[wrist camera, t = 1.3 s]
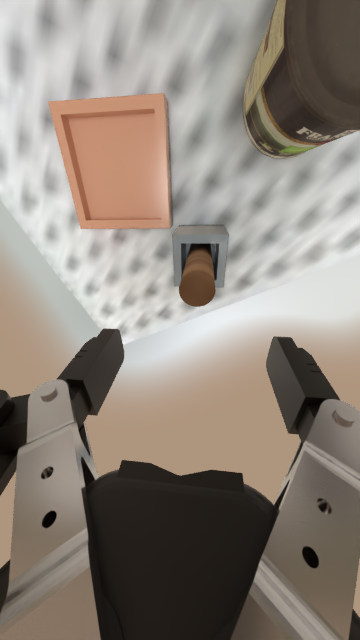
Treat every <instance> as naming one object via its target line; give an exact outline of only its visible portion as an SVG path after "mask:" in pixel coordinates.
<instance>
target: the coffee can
mask: <svg viewBox="0 0 360 640" xmlns="http://www.w3.org/2000/svg"><path fill="white" fill-rule="evenodd" d="M243 117H244V122H245V126H246V130H247V132H248V135H249V137H250V139H251V141H252V142H253V144H254V145H255V146H256V147H257V148H258V149H259V150H260V151H261V152H262V153H264V154H265V155H268V156H270V157H274V158H290V157H295V156H297V155H300V154H302V153H304V152H306V151H308V150H310V149H313V148H315V147H318V146H320V145H323V144H325V143H328V142H331V141H333V140H336V139H338V138H341V137H343V136H346V135H348V134H351V133H354V132H356V131H359V130H360V0H278V1H277V3H276V6H275V8H274V11H273V14H272V17H271V20H270V22H269V25H268V27H267V30H266V32H265V35H264V38H263V40H262V43H261V45H260V48H259V51H258V53H257V55H256V57H255V59H254V61H253V64H252V66H251V69H250V72H249V74H248V78H247V81H246V86H245V91H244V99H243Z"/></svg>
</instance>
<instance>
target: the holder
mask: <svg viewBox="0 0 360 640" xmlns="http://www.w3.org/2000/svg"><path fill="white" fill-rule="evenodd" d="M228 237H229V234H228V232H227V230H226V228H225V226H224V225H179V227H178V228H177V229H176V231H175V232H174V233H173V261H174V286H180V282H181V279H182V275H183V271H184V268H185V264H186V260H187V257H188V253H189V249H190V246H191V244H192V243H210V245H211V250H212V260H213V270H214V280H215V287H224V277H225V267H226V257H227V247H228Z"/></svg>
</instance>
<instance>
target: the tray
mask: <svg viewBox="0 0 360 640" xmlns="http://www.w3.org/2000/svg"><path fill="white" fill-rule="evenodd" d="M48 103H49V107H50V111H51V115H52V119H53V123H54V127H55V131H56V134H57V138H58V142H59V146H60V150H61V154H62V158H63V161H64V165H65V169H66V173H67V177H68V181H69V185H70V189H71V192H72V196H73V200H74V204H75V208H76V212H77V216H78V220H79V223H80V227H81V229H115V228H170V227H171V226H172V207H171V180H170V154H169V128H168V102H167V100H166V98H165V95H164V93H161V94H148V95H134V96H120V97H107V98H93V99H79V100H65V101H52V102H48Z"/></svg>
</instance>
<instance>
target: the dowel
mask: <svg viewBox="0 0 360 640" xmlns="http://www.w3.org/2000/svg"><path fill="white" fill-rule="evenodd" d="M179 293H180V296H181V298H182V300H183V301H184V302H185V303H187V304H189V305H191V306H196V307H198V306H204V305H206V304H208V303H209V302H210V301H211V300H212V299H213V297H214V295H215V280H214V270H213V260H212V250H211V245H210V243H192V244H191V246H190V249H189V253H188V257H187V260H186V264H185V268H184V271H183V275H182V279H181V282H180V286H179Z"/></svg>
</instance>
